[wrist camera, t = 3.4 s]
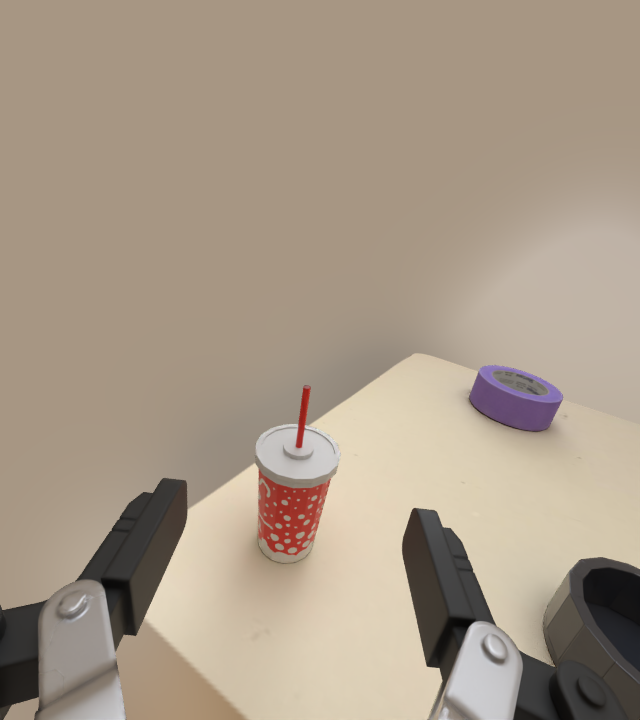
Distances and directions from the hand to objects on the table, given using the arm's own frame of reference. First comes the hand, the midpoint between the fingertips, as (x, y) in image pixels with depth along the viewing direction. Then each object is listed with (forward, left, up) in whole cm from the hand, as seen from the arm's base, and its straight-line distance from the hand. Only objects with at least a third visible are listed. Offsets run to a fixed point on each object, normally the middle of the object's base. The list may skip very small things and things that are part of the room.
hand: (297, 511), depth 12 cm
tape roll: (+44, -25, -15) cm, 53 cm away
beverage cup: (+11, +2, -15) cm, 19 cm away
